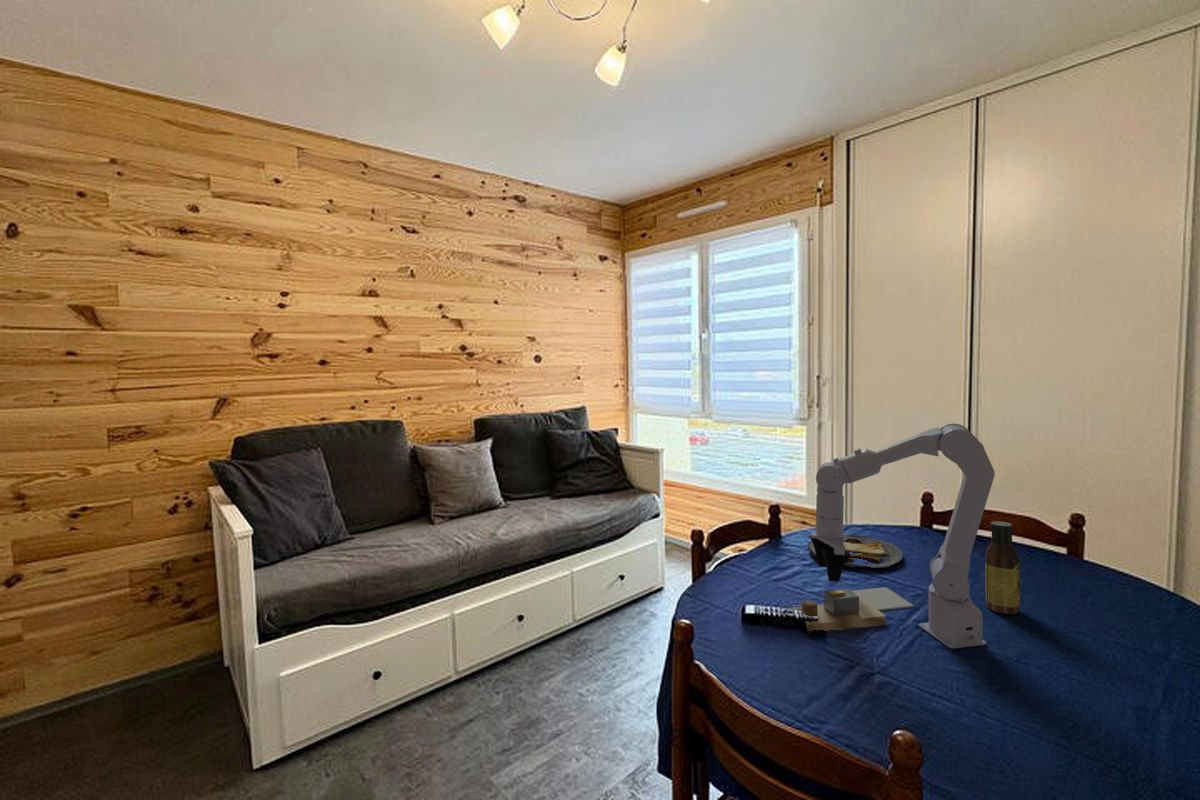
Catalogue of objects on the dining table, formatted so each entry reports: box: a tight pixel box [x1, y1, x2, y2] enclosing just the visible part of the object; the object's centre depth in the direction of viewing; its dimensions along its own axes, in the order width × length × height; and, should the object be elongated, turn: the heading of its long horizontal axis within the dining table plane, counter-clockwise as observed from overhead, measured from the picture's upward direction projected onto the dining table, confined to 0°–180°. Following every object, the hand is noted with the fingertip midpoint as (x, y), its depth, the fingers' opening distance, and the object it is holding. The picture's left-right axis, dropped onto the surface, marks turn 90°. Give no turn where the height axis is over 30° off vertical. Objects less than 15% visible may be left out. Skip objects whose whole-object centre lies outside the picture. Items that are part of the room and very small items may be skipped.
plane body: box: [790, 600, 887, 632], centre depth 121 cm, size 18×8×4 cm, turn 96°
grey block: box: [823, 588, 859, 617], centre depth 121 cm, size 6×4×5 cm, turn 97°
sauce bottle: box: [984, 520, 1021, 615], centre depth 121 cm, size 7×6×20 cm
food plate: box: [807, 534, 903, 569], centre depth 157 cm, size 25×23×4 cm
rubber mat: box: [851, 586, 914, 612], centre depth 129 cm, size 10×10×1 cm
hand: (828, 573), depth 123 cm, fingers open, 7 cm apart
